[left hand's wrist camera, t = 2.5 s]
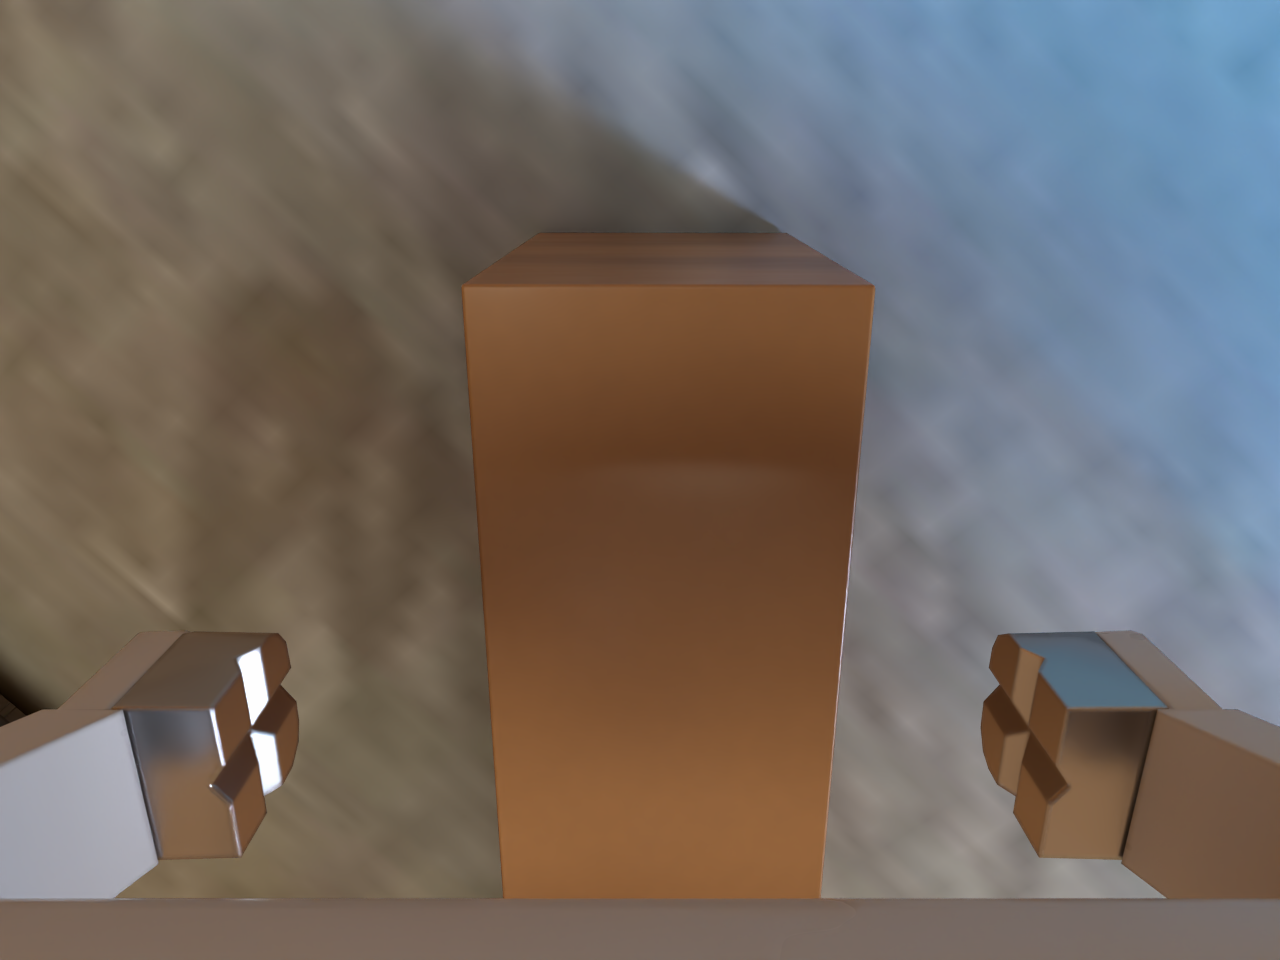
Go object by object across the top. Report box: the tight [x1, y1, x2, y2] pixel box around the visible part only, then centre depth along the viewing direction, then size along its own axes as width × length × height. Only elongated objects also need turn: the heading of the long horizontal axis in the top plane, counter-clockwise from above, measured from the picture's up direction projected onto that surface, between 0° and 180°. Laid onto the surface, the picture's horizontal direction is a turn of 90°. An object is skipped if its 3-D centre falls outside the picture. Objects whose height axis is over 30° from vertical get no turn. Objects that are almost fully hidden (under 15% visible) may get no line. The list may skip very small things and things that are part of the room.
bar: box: [461, 233, 875, 899], centre depth 21 cm, size 28×6×9 cm, turn 0°
